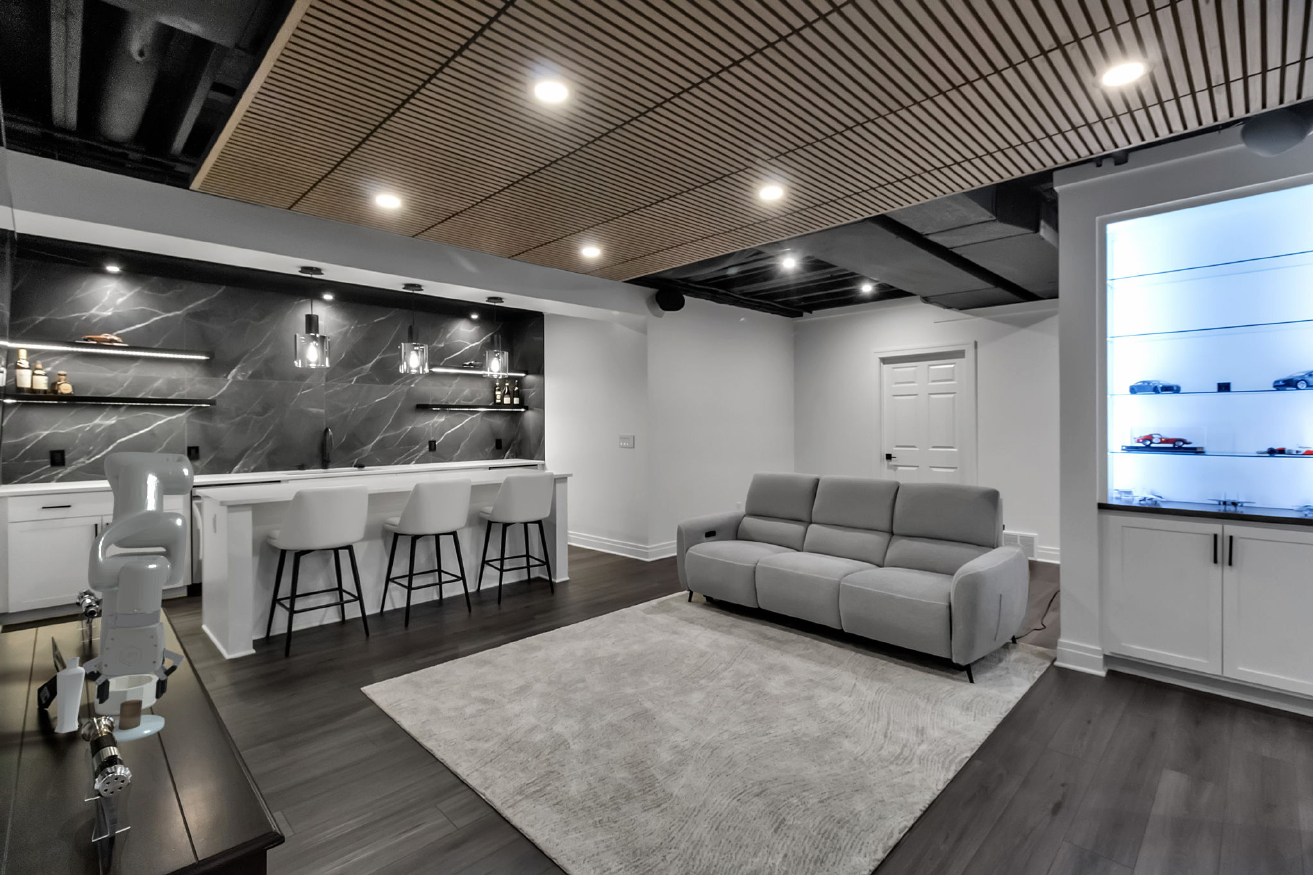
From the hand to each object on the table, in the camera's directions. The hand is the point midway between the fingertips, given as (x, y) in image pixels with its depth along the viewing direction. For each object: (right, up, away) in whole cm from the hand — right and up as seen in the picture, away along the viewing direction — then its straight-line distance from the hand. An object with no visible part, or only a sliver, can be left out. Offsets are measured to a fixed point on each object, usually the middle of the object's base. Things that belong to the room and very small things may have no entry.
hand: (131, 699), depth 136 cm
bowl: (-11, -7, +12) cm, 18 cm away
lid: (-1, -7, 0) cm, 7 cm away
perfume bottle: (-13, -6, -1) cm, 14 cm away
